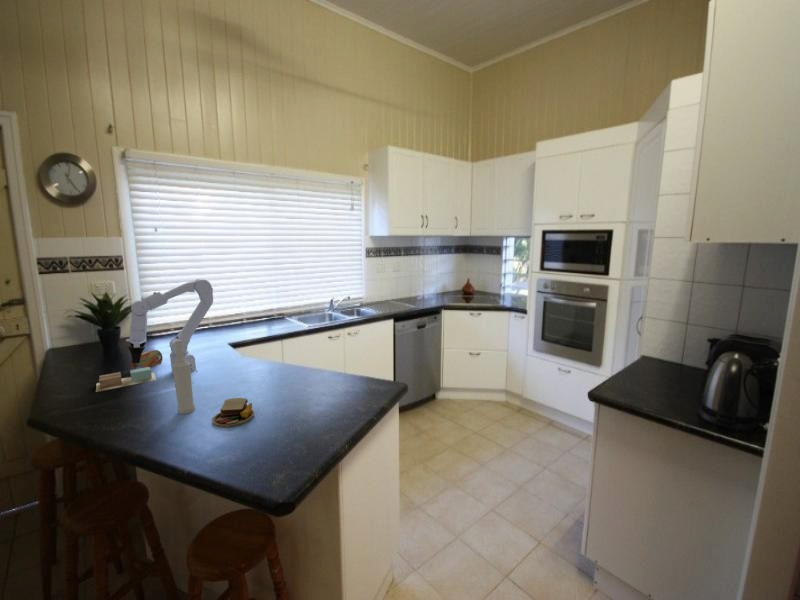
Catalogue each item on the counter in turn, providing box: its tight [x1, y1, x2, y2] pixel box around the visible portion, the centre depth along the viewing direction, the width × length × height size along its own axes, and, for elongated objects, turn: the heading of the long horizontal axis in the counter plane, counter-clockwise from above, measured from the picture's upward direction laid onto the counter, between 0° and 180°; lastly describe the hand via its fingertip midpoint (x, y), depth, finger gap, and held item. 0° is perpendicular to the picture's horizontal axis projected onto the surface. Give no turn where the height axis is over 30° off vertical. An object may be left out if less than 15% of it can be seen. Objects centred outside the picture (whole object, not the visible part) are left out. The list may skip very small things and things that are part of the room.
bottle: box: [172, 340, 196, 415], centre depth 128 cm, size 5×5×25 cm
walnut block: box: [98, 371, 123, 389], centre depth 154 cm, size 7×7×4 cm
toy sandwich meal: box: [211, 397, 255, 428], centre depth 123 cm, size 12×14×5 cm
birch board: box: [95, 372, 157, 393], centre depth 157 cm, size 20×12×1 cm, turn 127°
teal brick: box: [129, 367, 152, 382], centre depth 160 cm, size 5×7×4 cm
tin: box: [130, 349, 163, 370], centre depth 175 cm, size 15×3×8 cm, turn 168°
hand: (136, 360), depth 159 cm, fingers open, 7 cm apart
